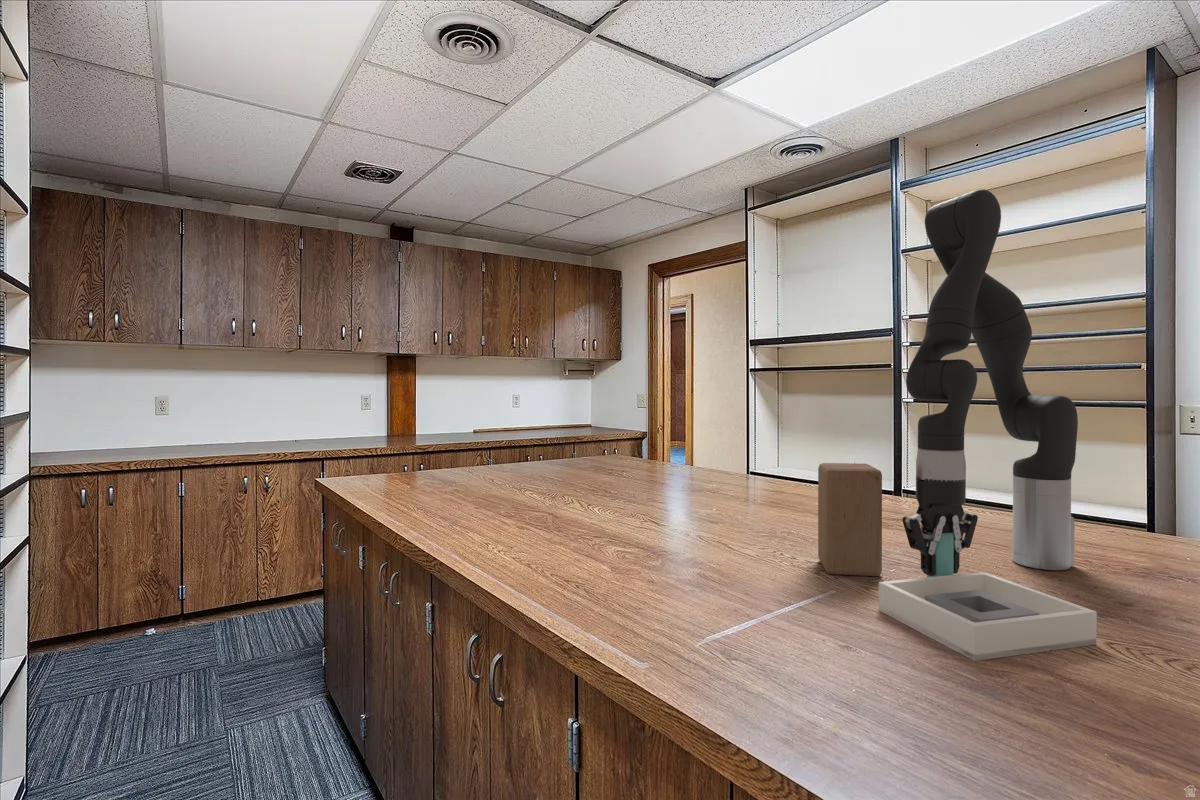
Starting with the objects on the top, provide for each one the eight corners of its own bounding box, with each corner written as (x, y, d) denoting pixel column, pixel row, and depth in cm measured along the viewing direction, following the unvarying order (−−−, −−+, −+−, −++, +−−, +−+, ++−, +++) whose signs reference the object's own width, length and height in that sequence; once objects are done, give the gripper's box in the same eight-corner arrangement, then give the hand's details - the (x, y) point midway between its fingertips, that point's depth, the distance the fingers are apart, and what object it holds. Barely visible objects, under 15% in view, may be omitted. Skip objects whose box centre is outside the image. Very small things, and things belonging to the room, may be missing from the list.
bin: (983, 599, 99) (983, 572, 99) (1096, 644, 82) (1096, 611, 81) (878, 610, 94) (878, 582, 94) (974, 661, 77) (974, 626, 77)
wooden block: (883, 578, 110) (883, 470, 110) (825, 575, 112) (825, 468, 112) (870, 562, 120) (870, 463, 119) (817, 560, 122) (817, 462, 121)
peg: (940, 584, 107) (940, 528, 106) (958, 591, 103) (959, 533, 102) (921, 586, 106) (921, 529, 105) (939, 593, 102) (939, 535, 102)
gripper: (957, 470, 109) (956, 564, 109) (889, 473, 106) (889, 570, 106) (993, 476, 102) (992, 576, 102) (921, 480, 98) (921, 583, 99)
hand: (939, 573), depth 104 cm, fingers closed on peg, 4 cm apart
